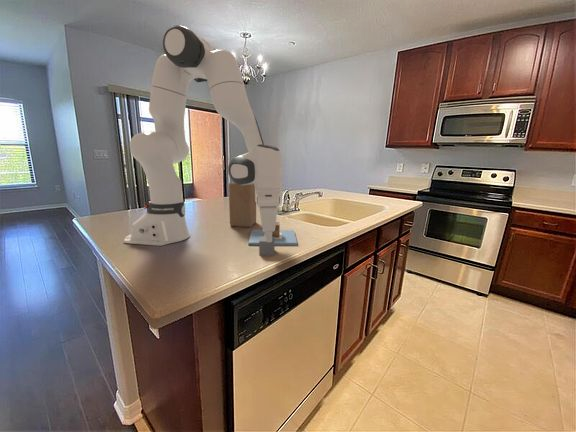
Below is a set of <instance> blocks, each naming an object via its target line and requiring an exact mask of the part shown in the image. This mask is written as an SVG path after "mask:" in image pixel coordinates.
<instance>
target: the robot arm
mask: <svg viewBox="0 0 576 432" xmlns="http://www.w3.org/2000/svg"><path fill="white" fill-rule="evenodd" d="M162 48H163V49H162V50H163V52H164V54H162V55H160V56H159V57H157V60H156V63H155V66H154V69H153V73H152V79H151V84H150V85H151V87H150V94H149V95H150V96H149V105H148V106H149V107H148V111H149V114H150V115H151V117H152V119H153V123H154V130H155V131H152V130H151V131H150V130H149V131H142V132H139V133H136V134H134V135H133V136H132V137H131V138H130V142H129V150H130V154H131V156H132V157H133V158H134V159H135V160H136V161H137V162H138V163H139V164H140V167H141V168H142V170H143V172H144V174H145V176H146V177H145V178H146V179H147V184H148V191H149V199H150V202H148V203H147V204H146V205H144V206H143V207H144V208H143V210H145V209H146V212H145V213H144V214H142V216H140V217H139V218H138V219H137V220H135V221H134V222H133V223H132V224H131V229H130V234H128V235H126V237H125V238H124V244H134V245H135V244H136V245H145V246H147V245H148V246H161V247H162V246H166V245H168V244H172V243H173V244H174V243H177V242H181V241H185V240H186V239H188V238H189V237H190V236H191V234H190V231H189V229H188V225H187V222H186V206H185V201H184V198H183V185H182V184H183V182H182V180H181V178H180V177H179V176H178V174H177V172H176V169H175V167H174V165H175V164H179V163H181V162H183V161H184V160H186V159H187V157H188V156H189V152H190V147H189V145H188V143H187V141H186V140H187V139H186V134H185V114H186V105H187V98H188V90H189V85H190V83H191V81H193V80H194V81H195V82H196V83H204V82H207V84H208V88H209V93H210V98H211V102H212V104H213V106H214V109H215V111H216V112H217V114H218V115H220V116H221V117H222V118H223V119H225V120H226V121H228V122H229V123H231V124H232V125H234V126H235V127H236V129H238V130H239V131H240V133H241V134H242V136H243V139H244V142H245V145H246V148H247V151H248V152H246V153H243V154H240V155H238V156H234V157H233V158H231V160H230V162H229V163H228V166H227V167H228V168H227V173H228V176H229V179H230V180H231V181H232V182H234V183H235V184H238V185H250V184H254V185H255V202H256V205H257V207H259V213H260V214H259V215H260V221H261V222H260V223H261V230H263V231H264V232H266V241H267V242H272V232H274V231H275V227H276V222H277V216H278V208H279V207H280V205H281V203H282V202H283V185H282V176H283V160H282V153H281V151H280V149H279V148H278V147H276V146H275V145H269V144H265V143H264V140H263V136H262V133H261V129H260V127H259V124H258V121H257V117H256V116H255V113H254V112H253V110H252V106H251V105H250V102H249V99H248V95H247V92H246V86H245V84H244V79H243V74H242V72H241V69H240V67H239V64H238V61H237V60H236V57H235V55H234V54H233V53H232V52H230V51H228V50H226V49H215V48H214V47H213V46H212V45H211V44H210V43H209V42H207V41H206V40H205V39H204V38H202V37H200V36H199V35H197V34H196V33H194V31H192V29H190V28H187V27H186V26H182V25H179V24H175V25H172V26H170V27H168V29H167V30H166V32H165V33H164V35H163V38H162Z"/></svg>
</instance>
